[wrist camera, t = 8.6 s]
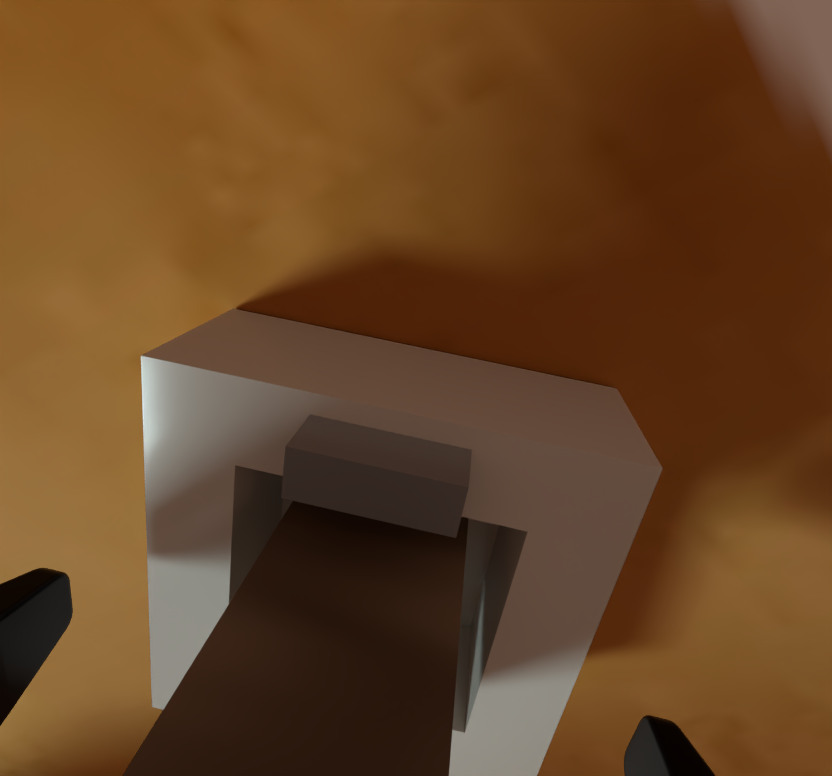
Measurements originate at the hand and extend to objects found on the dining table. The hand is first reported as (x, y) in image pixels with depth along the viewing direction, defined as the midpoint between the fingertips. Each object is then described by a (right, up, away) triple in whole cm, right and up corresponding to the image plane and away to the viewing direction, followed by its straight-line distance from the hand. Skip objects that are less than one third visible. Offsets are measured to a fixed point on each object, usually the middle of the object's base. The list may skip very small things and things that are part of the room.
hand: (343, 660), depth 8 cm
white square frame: (+1, +1, +4) cm, 4 cm away
